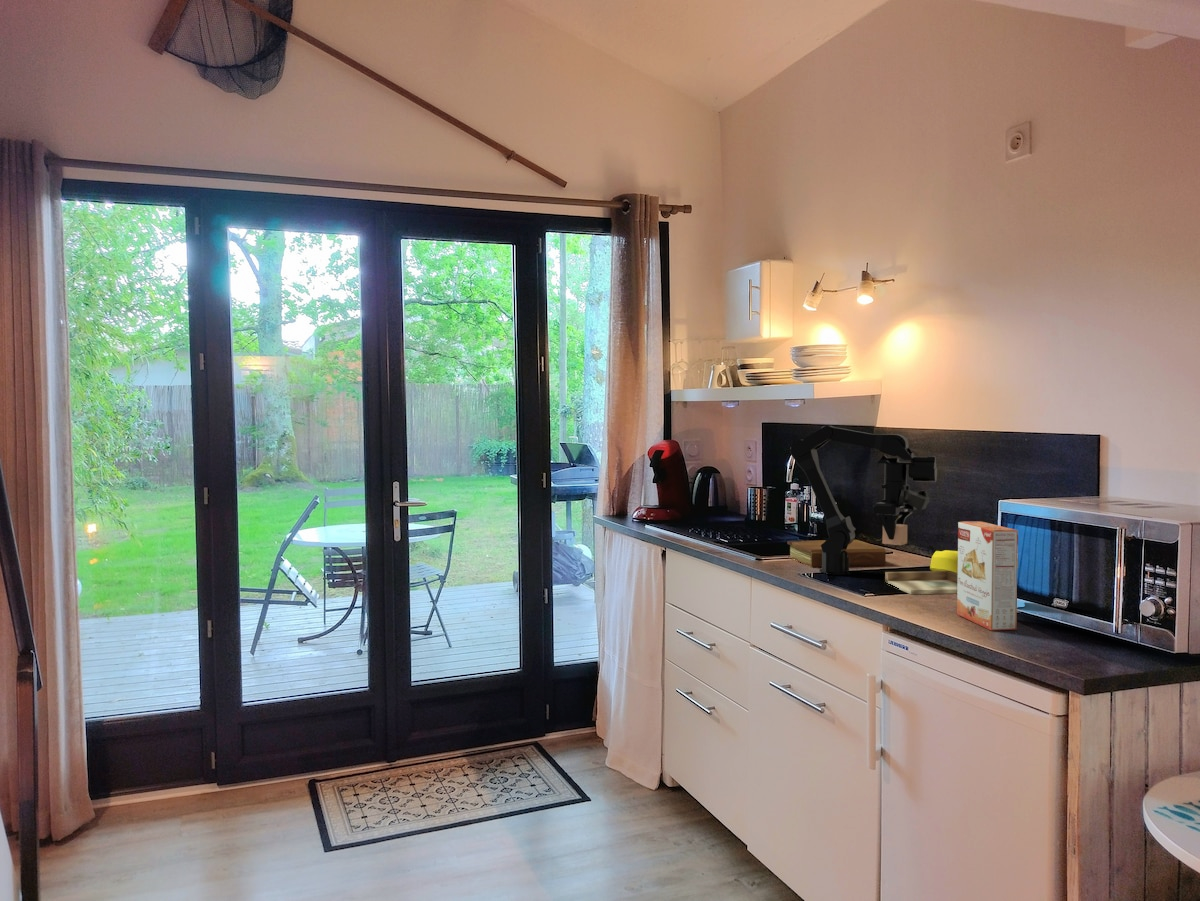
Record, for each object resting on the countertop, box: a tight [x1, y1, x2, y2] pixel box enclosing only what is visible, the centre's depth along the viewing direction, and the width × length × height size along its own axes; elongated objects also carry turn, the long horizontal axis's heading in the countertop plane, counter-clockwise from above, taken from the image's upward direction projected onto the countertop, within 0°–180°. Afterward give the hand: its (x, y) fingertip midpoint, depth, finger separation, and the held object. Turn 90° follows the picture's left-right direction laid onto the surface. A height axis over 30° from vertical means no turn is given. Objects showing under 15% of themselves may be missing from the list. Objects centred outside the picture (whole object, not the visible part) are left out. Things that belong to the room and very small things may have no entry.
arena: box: [884, 570, 958, 595], centre depth 217 cm, size 18×14×3 cm
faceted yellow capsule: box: [929, 549, 958, 573], centre depth 235 cm, size 18×7×8 cm
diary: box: [787, 539, 887, 568], centre depth 257 cm, size 23×19×6 cm
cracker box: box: [956, 520, 1019, 632], centre depth 179 cm, size 14×6×21 cm, turn 5°
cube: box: [881, 524, 908, 546], centre depth 229 cm, size 5×5×5 cm
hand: (894, 538), depth 229 cm, fingers closed on cube, 5 cm apart
